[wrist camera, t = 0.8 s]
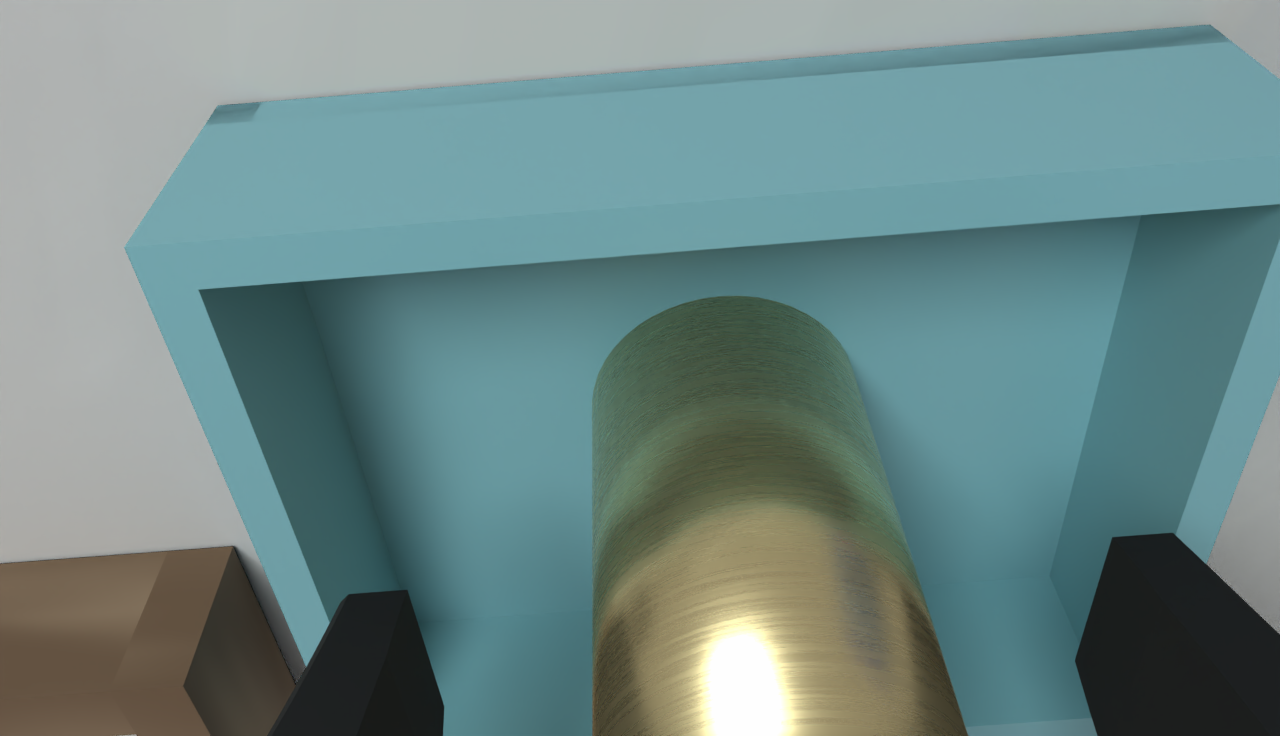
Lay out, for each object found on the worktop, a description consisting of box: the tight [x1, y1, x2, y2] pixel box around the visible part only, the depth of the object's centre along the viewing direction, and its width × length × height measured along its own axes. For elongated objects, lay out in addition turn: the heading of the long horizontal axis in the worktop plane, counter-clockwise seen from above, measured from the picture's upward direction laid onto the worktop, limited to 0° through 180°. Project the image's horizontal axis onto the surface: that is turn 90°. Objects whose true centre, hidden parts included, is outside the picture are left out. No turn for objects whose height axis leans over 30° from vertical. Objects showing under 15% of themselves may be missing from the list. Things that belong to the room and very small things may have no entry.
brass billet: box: [592, 296, 968, 736], centre depth 12 cm, size 4×4×6 cm
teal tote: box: [124, 25, 1280, 736], centre depth 13 cm, size 9×11×3 cm
